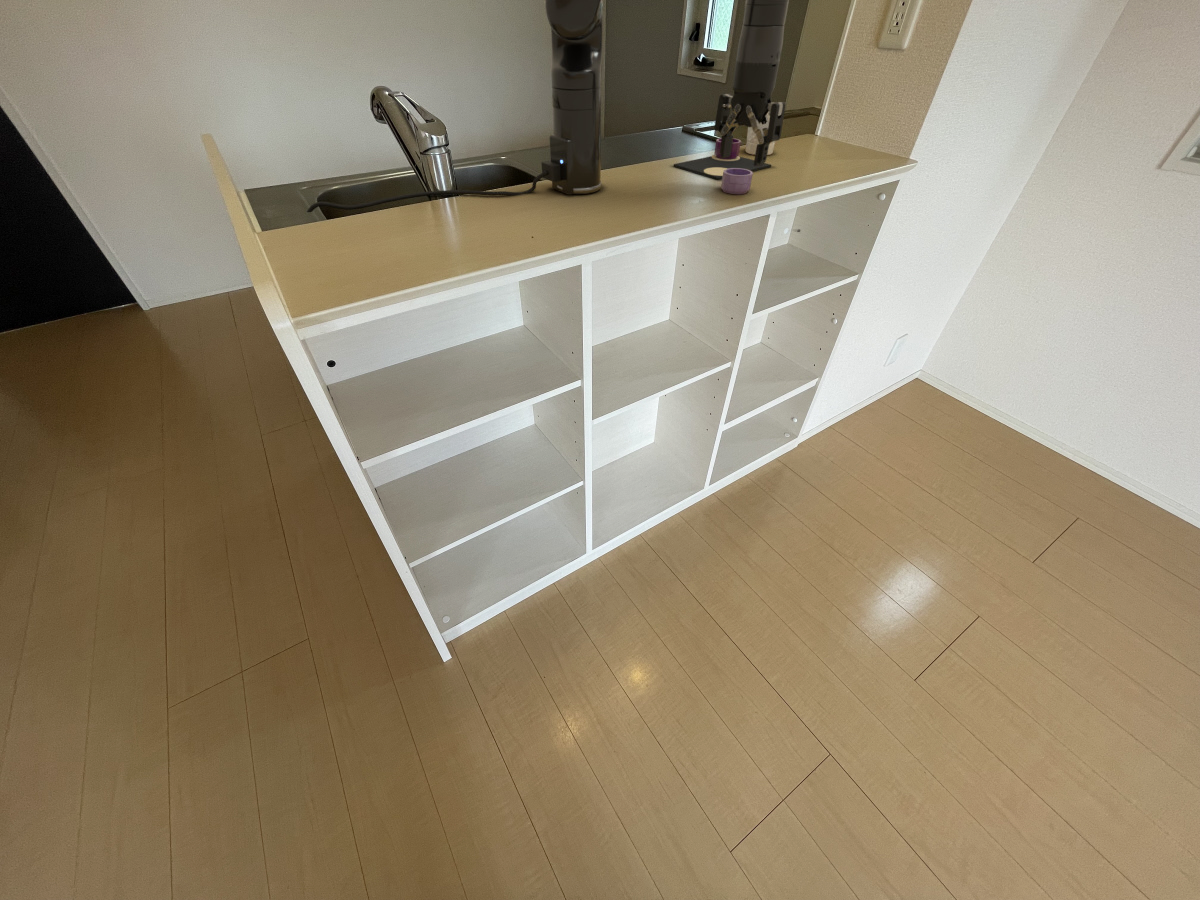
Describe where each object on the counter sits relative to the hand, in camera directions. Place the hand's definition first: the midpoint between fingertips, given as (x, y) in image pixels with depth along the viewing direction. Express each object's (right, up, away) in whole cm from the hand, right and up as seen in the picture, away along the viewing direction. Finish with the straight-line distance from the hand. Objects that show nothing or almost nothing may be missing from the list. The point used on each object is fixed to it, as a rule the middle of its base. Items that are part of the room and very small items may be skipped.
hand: (741, 161), depth 100 cm
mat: (0, +9, +18) cm, 20 cm away
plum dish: (+2, +14, +22) cm, 26 cm away
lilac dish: (0, -4, +4) cm, 5 cm away
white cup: (+12, +18, +28) cm, 36 cm away
